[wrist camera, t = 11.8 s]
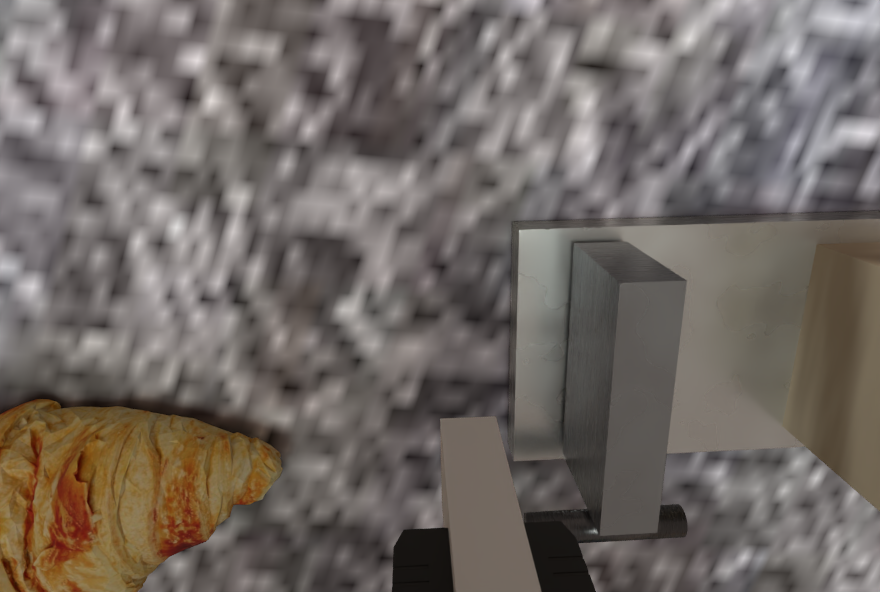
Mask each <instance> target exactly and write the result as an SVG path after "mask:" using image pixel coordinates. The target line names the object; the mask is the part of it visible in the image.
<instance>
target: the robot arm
mask: <svg viewBox="0 0 880 592" xmlns="http://www.w3.org/2000/svg"><path fill="white" fill-rule="evenodd" d="M440 432H441V481H442V511H443V524H444V528H431V529H409V530H403V532H402V534H401V535H400V537H399V539H398V541H397V542H396V544H395V546H394V555H393V587H392V592H596V591H595V588H594V585H593V583H592V580H591V577H590V575H589V574H588V569H587V566H586V564H585V561H584V559H583V556H582V553H581V550H580V547H579V545H578V542H577V539H576V537H575V536H574V535H573V534H572V532H571V531H570V530H569V529H568V528H567V527H566V526H565V525H564V524H563V523H562V522H561V521H547V522H526V523H524V522H523V519H522V515H521V511H520V507H519V503H518V499H517V496H516V492H515V488H514V484H513V480H512V476H511V473H510V469H509V465H508V461H507V457H506V453H505V449H504V446H503V442H502V438H501V434H500V430H499V426H498V423H497V419H496V416H493V417H468V418H443V419H440Z"/></svg>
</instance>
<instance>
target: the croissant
mask: <svg viewBox="0 0 880 592" xmlns="http://www.w3.org/2000/svg"><path fill="white" fill-rule="evenodd" d="M280 457H281V454H280V452H279V451H277V450H276V449H275V448H273V447H272V446H271V445H269V444H268V443H266V442H264V441H262V440H261V439H259V438H257V437H256V438H250V437H247V436H245V435H243V434H241V433H239V432H236V433H231V432H228V431H226V430H223V429H220V428H218V427H215V426H212V425H210V424H207V423H204V422H202V421H199V420H197V419H194V418H188V417H181V416H177V415H174V414H173V415H170V416H168V415H163V414H158V413H153V412H149V411H144V410H137V409H130V408H126V407H120V406H114V407H68V408H62V409H61V405H60V404H59V403H58V402H56V401H52V400H49V399H36V400H33V401H29V402H26V403H24V404H21V405H19V406H17V407H14V408H12V409H10V410H7V411H5V412H3V413H2V414H0V592H137V591H138V590H139V589H141V588H142V586H143V583H144V582H145V581H146V579H147V576H148V575H149V574H150V573H152V572H153V571H154V570H155V569H156V568H157V567H158V565H159V564H160V563H162V562H164V561H165V560H166V559H167V558H168V557H169V556H172V555H174V554H176V553H178V552H181V551H183V550H185V549H188V548H190V547H193V546H195V545H198V544H201V543H203V542H206V541H207V540H208V539H209V538H210V536H211V535H212V534H213V533H214V531H215V530H216V526H218V525H219V524H220V523H222V522H223V521H224V520H226V519H227V518H229V517H230V513H231V510H232V507H233V505H236V504H241V505H247V504H251V503H253V502H255V501H259V500H262V499H263V497H264V495H265V494H266V492H267V491H268V490H269V489H270V487H271V486H272V485H273V483H274V482H275V481H276V480H277V479H278V478H279V477H280V475H281V472H282V470H283V468H282V467H281V460H280Z"/></svg>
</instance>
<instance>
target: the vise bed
mask: <svg viewBox="0 0 880 592" xmlns="http://www.w3.org/2000/svg"><path fill="white" fill-rule="evenodd" d="M624 241H627V242H628V243H630V244H632V245H633V246H635V247H636V248H638V249H639V250H641V251H642V252H644V253H645V254H647V255H648V256H650V257H652V258H653V259H655V260H656V261H658V262H659V263H661V264H662V265H664V266H665V267H667V268H668V269H670V270H671V271H673V272H675V273H676V274H678V275H679V276H681V277H682V278H684V279H685V280H687V285H686V294H685V302H684V311H683V319H682V328H681V336H680V345H679V353H678V361H677V370H676V378H675V387H674V395H673V404H672V412H671V421H670V429H669V438H668V446H667V454H669V453H689V452H709V451H729V450H749V449H769V448H789V447H805V446H804V445H803V444H802V443H801V442H800V441H799V440H797V439H796V438H795V437H794V436H793V435H792V434H791V433H789V432H788V431H787V430H786V429H785V428H784V427H782V425H783V419H784V414H785V409H786V404H787V398H788V393H789V388H790V382H791V377H792V372H793V367H794V361H795V356H796V351H797V345H798V340H799V335H800V330H801V324H802V319H803V314H804V308H805V303H806V298H807V293H808V287H809V282H810V277H811V271H812V266H813V261H814V256H815V250H816V245H817V244H837V243H870V242H880V211H852V212H819V213H785V214H752V215H719V216H686V217H653V218H619V219H586V220H553V221H520V222H512V258H511V307H510V356H509V406H508V444H509V448H510V451H511V454H512V458H513V461H529V460H549V459H565V457H564V455H563V453H562V452H563V434H564V415H565V397H566V378H567V360H568V341H569V323H570V304H571V286H572V267H573V249H574V243H592V242H624Z"/></svg>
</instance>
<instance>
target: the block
mask: <svg viewBox="0 0 880 592" xmlns="http://www.w3.org/2000/svg"><path fill="white" fill-rule="evenodd" d="M782 427H784V428H785V429H786V430H787V431H788V432H789V433H791V434H792V435H793V436H794V437H795V438H796V439H797V440H799V441H800V442H801V443H802V444H803V445H804V446H805V447H807V448H808V449H809V450H810V451H811V452H812V453H813V454H815V455H816V456H817V457H818V458H819V459H820V460H821V461H823V462H824V463H825V464H826V465H827V466H828V467H829V468H831V469H832V470H833V471H834V472H835V473H836V474H838V475H839V476H840V477H841V478H842V479H843V480H844V481H846V482H847V483H848V484H849V485H850V486H851V487H852V488H854V489H855V490H856V491H857V492H858V493H859V494H860V495H862V496H863V497H864V498H865V499H866V500H867V501H868V502H870V503H871V504H872V505H873V506H874V507H875V508H877V509H878V510H879V511H880V242H870V243H837V244H817V245H816V250H815V256H814V261H813V266H812V271H811V277H810V282H809V287H808V293H807V298H806V303H805V308H804V314H803V319H802V324H801V330H800V335H799V340H798V345H797V351H796V356H795V361H794V367H793V372H792V377H791V382H790V388H789V393H788V398H787V404H786V409H785V414H784V419H783V425H782Z"/></svg>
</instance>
